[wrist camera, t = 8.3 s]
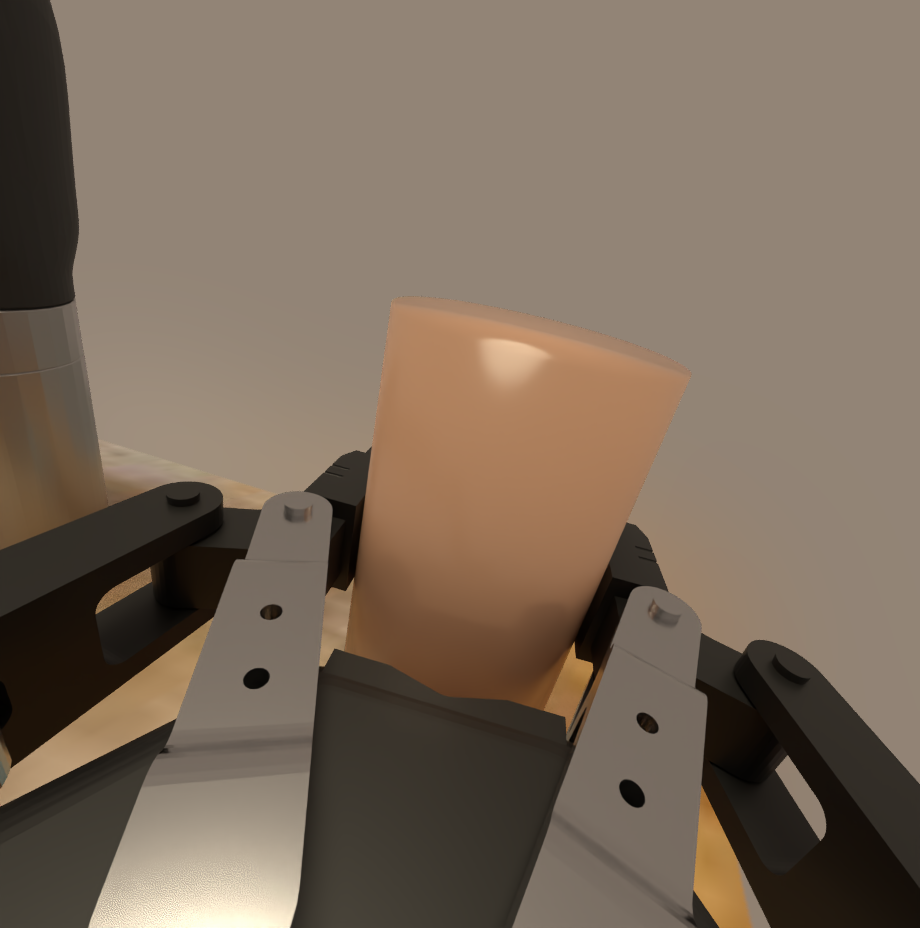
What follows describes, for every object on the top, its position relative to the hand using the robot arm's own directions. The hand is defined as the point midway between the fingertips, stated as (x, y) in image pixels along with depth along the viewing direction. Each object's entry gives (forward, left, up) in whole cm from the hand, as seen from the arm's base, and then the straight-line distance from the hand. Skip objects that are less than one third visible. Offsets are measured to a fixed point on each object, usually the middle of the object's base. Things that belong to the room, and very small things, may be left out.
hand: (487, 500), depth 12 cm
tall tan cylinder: (0, -3, -7) cm, 7 cm away
